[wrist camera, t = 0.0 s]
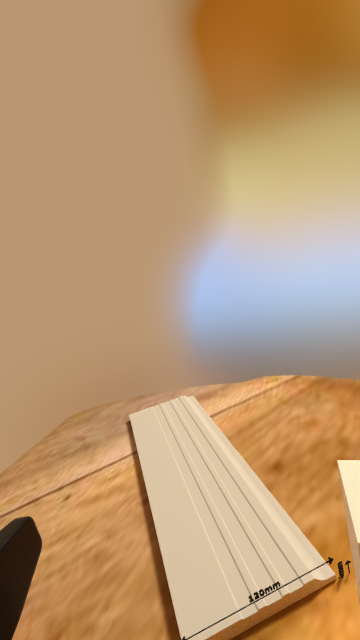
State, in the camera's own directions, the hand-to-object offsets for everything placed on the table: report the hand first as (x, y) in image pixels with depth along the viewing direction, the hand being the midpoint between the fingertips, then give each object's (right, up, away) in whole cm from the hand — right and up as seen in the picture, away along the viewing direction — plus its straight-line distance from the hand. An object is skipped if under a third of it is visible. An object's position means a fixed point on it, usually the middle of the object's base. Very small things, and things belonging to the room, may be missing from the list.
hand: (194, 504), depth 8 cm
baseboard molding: (+2, -12, +26) cm, 29 cm away
